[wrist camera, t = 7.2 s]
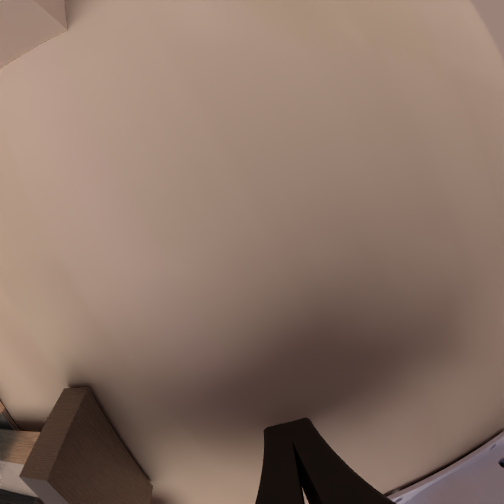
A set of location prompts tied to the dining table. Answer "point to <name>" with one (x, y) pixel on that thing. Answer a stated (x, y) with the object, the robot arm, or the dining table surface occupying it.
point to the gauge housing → (3, 500)
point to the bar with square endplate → (72, 458)
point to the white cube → (28, 25)
